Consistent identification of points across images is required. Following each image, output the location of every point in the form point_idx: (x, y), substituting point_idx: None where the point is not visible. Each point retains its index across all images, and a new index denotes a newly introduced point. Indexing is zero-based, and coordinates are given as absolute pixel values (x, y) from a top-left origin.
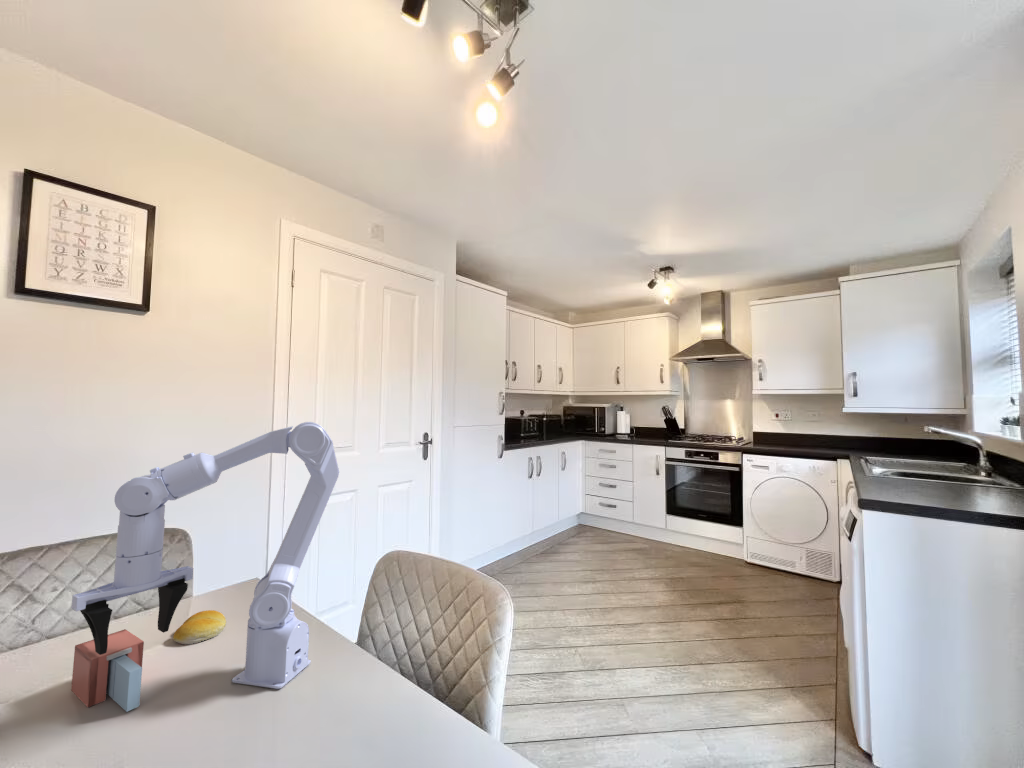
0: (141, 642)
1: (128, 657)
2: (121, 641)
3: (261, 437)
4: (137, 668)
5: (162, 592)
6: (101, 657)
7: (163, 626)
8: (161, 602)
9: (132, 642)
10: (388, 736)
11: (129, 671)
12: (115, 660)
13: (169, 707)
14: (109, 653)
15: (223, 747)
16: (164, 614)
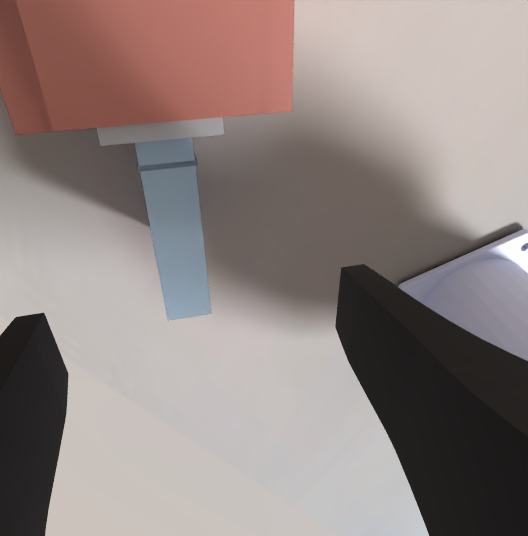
0: (279, 111)
1: (195, 170)
2: None
3: None
4: (197, 307)
5: (495, 496)
6: (68, 129)
7: (348, 349)
8: (438, 405)
9: (245, 63)
10: (394, 530)
11: (168, 311)
12: (139, 149)
13: (252, 280)
14: (110, 123)
15: (262, 457)
16: (384, 395)
